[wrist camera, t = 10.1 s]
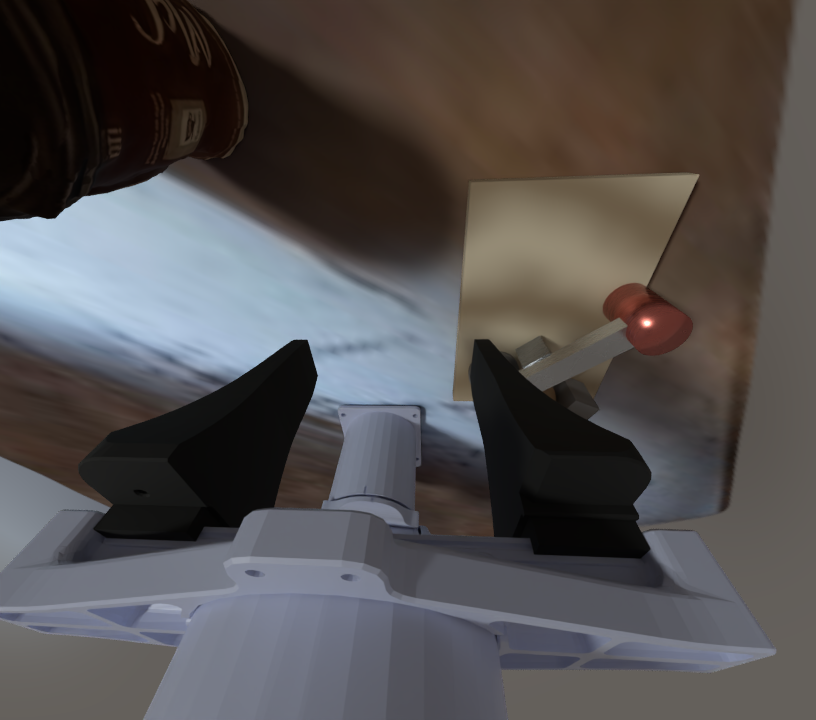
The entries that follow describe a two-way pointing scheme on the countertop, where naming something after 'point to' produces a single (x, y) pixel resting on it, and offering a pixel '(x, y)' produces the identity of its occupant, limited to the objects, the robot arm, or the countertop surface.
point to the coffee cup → (108, 98)
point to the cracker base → (558, 263)
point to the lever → (610, 337)
